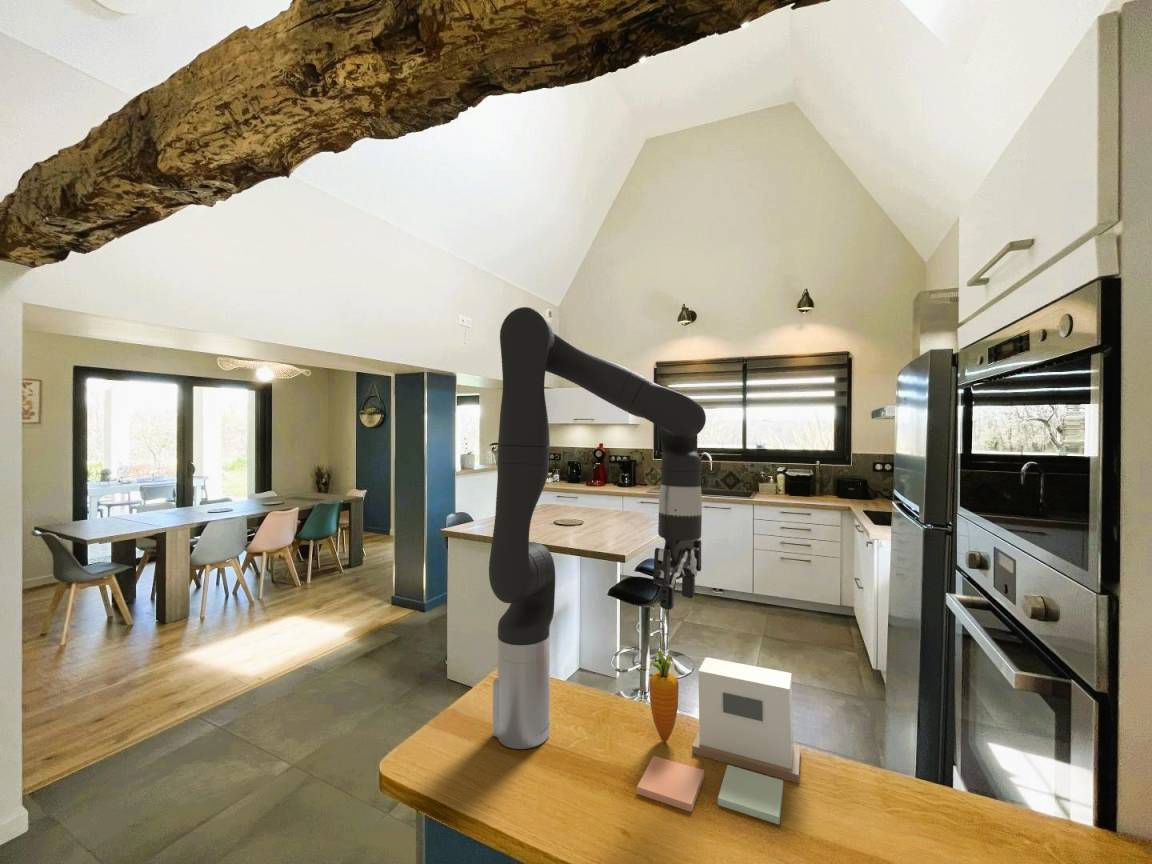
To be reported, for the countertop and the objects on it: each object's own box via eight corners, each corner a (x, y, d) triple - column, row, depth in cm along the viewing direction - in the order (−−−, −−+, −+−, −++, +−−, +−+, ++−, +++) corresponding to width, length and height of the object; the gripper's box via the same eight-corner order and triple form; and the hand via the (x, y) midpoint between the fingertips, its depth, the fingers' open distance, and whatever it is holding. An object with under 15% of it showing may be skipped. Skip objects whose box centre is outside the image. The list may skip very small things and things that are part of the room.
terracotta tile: (637, 793, 70) (636, 786, 70) (653, 762, 77) (653, 755, 77) (691, 812, 66) (691, 804, 66) (704, 777, 73) (704, 770, 73)
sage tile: (717, 805, 67) (717, 797, 67) (727, 771, 74) (727, 764, 74) (779, 824, 64) (779, 817, 64) (783, 787, 71) (783, 780, 71)
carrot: (679, 752, 79) (678, 660, 80) (649, 748, 80) (648, 658, 81) (679, 735, 84) (677, 648, 85) (650, 732, 85) (649, 646, 86)
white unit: (692, 753, 79) (691, 672, 79) (702, 728, 86) (701, 653, 87) (798, 783, 72) (796, 693, 72) (800, 753, 79) (798, 671, 79)
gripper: (681, 517, 77) (679, 618, 77) (715, 509, 88) (713, 597, 88) (641, 512, 82) (638, 607, 81) (678, 505, 93) (676, 589, 92)
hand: (677, 602), depth 84 cm, fingers open, 8 cm apart
